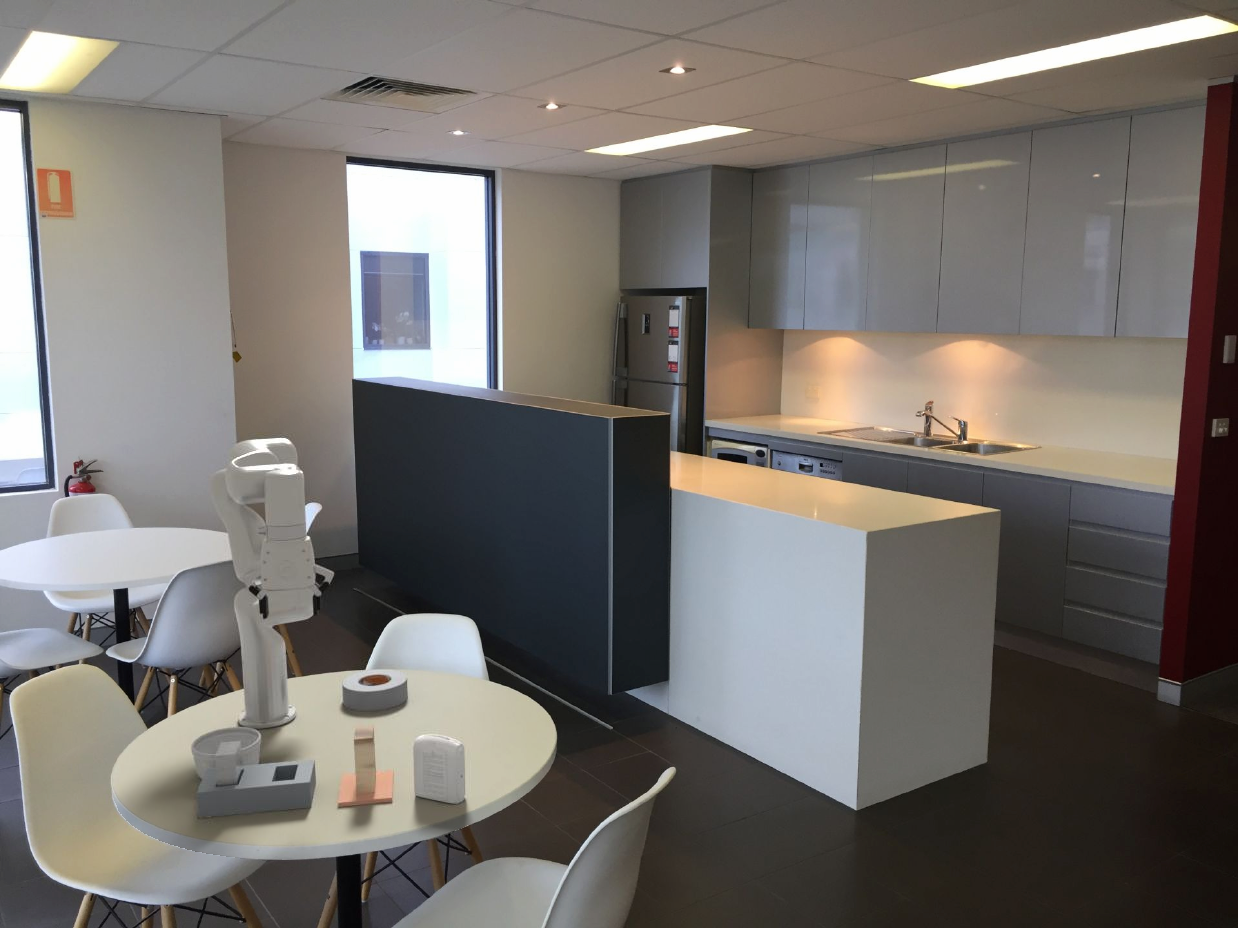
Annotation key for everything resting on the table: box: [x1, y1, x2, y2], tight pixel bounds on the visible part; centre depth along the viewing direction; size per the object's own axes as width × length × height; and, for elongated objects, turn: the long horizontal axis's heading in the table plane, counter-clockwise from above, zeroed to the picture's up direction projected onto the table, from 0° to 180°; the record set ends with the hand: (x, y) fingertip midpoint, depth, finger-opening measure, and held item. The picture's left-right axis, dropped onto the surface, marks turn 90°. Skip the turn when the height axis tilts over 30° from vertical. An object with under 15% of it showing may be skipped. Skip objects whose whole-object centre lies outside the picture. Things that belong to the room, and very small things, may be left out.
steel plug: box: [215, 741, 243, 787], centre depth 188 cm, size 6×4×11 cm, turn 12°
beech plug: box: [353, 725, 376, 794], centre depth 193 cm, size 6×4×11 cm, turn 12°
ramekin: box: [190, 726, 262, 781], centre depth 202 cm, size 13×13×7 cm
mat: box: [337, 769, 395, 808], centre depth 194 cm, size 12×10×1 cm
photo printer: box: [412, 733, 466, 805], centre depth 190 cm, size 10×4×12 cm, turn 69°
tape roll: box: [341, 669, 409, 712], centre depth 240 cm, size 15×15×5 cm
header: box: [196, 758, 317, 818], centre depth 190 cm, size 10×20×5 cm, turn 102°
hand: (291, 615), depth 199 cm, fingers open, 9 cm apart
